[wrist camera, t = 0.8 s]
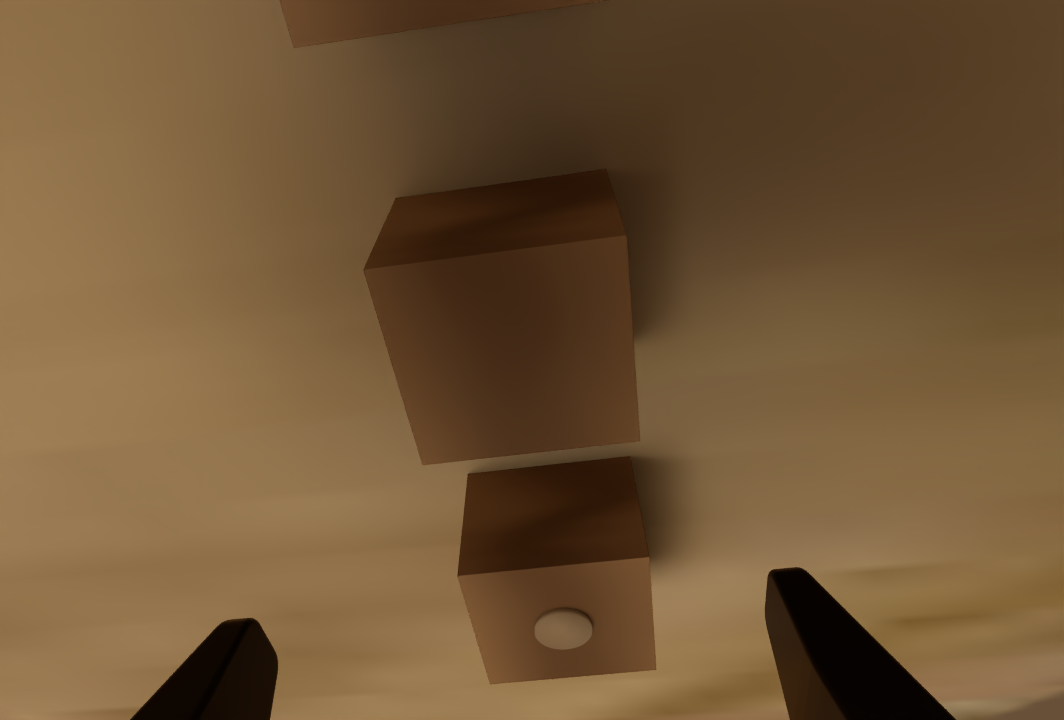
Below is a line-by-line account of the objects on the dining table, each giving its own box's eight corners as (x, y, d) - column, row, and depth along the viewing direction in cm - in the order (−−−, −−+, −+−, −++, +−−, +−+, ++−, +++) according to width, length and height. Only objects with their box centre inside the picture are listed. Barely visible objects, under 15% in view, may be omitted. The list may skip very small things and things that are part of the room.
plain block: (605, 167, 16) (626, 235, 13) (619, 346, 19) (640, 441, 15) (396, 196, 16) (363, 269, 13) (440, 367, 19) (422, 465, 16)
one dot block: (629, 452, 21) (650, 563, 17) (637, 561, 23) (657, 676, 20) (468, 471, 21) (456, 582, 18) (494, 575, 24) (489, 690, 20)
